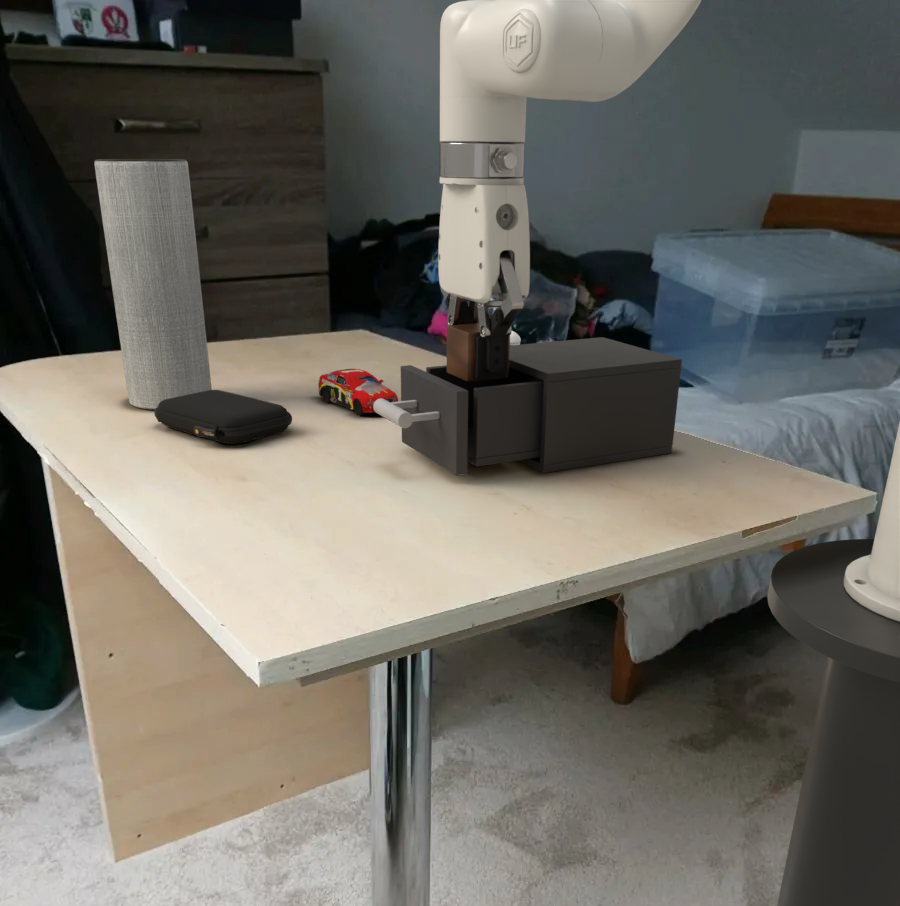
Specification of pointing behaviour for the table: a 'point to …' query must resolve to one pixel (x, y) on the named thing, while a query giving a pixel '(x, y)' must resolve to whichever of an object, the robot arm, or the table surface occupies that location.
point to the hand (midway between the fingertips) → (477, 371)
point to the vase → (154, 277)
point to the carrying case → (223, 416)
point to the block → (464, 351)
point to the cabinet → (600, 401)
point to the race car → (354, 390)
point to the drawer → (467, 417)
